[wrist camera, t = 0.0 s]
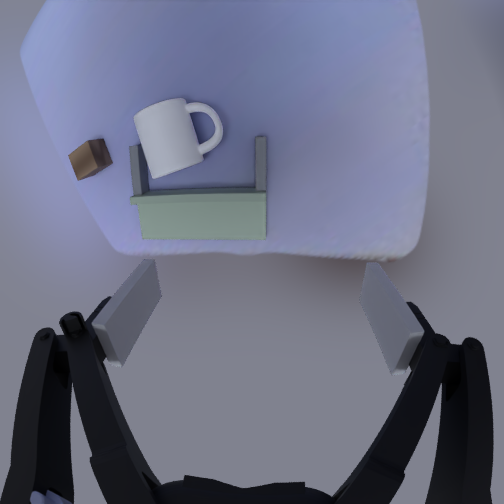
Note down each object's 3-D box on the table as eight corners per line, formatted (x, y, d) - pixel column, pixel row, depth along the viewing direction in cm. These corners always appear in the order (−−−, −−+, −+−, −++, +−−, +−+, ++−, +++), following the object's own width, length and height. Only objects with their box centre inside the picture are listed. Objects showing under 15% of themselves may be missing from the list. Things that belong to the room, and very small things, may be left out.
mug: (164, 174, 42) (144, 183, 34) (146, 119, 38) (123, 118, 30) (234, 151, 40) (226, 155, 32) (216, 92, 36) (204, 83, 29)
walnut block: (84, 151, 40) (68, 155, 35) (103, 138, 39) (87, 140, 34) (93, 175, 42) (78, 180, 37) (113, 163, 41) (97, 167, 36)
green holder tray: (137, 145, 39) (125, 147, 35) (266, 136, 38) (266, 136, 34) (147, 235, 46) (136, 244, 42) (265, 235, 45) (265, 246, 41)
